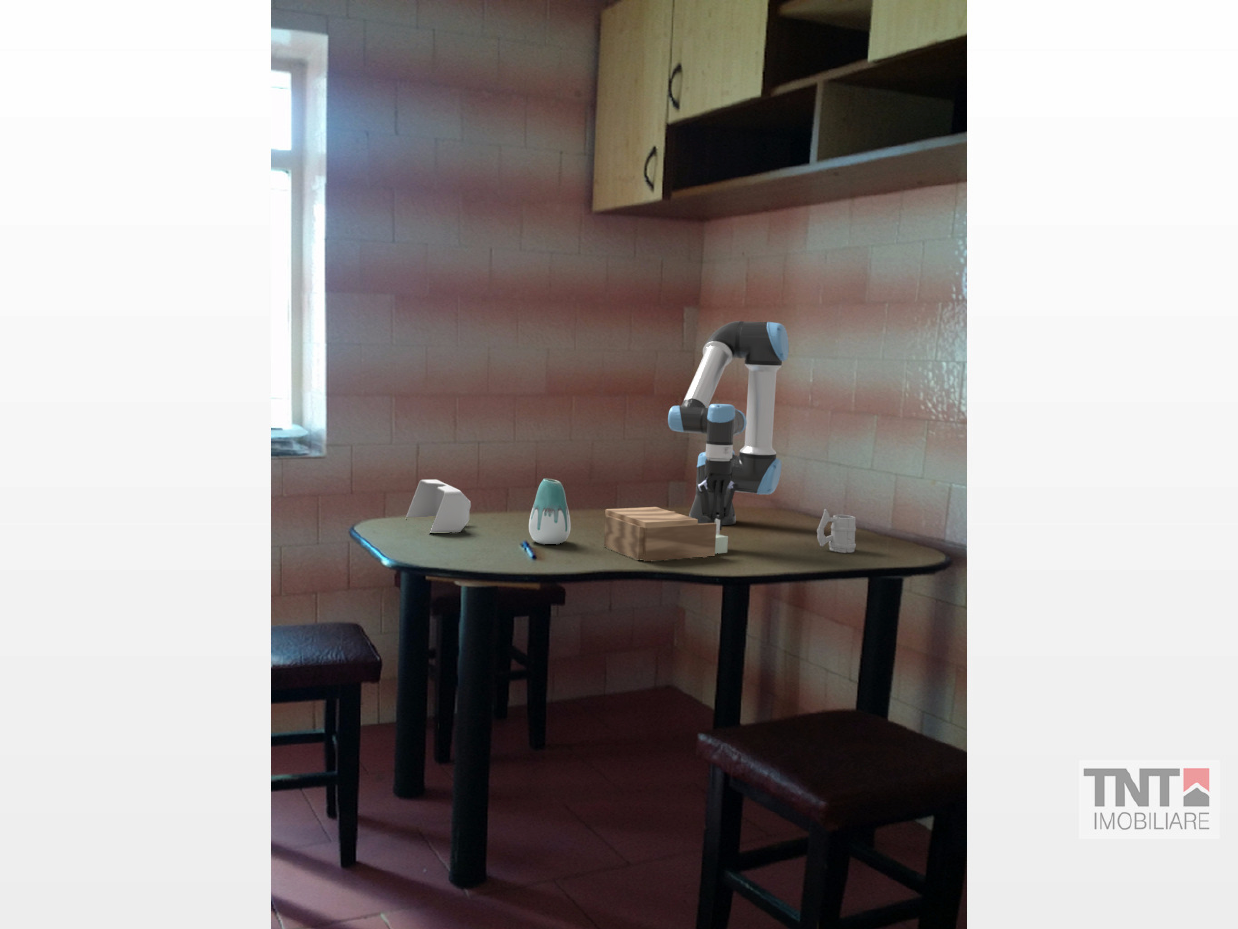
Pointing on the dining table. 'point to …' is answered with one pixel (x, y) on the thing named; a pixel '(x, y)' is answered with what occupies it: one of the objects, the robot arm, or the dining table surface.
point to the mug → (838, 532)
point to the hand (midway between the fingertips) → (714, 541)
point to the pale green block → (721, 544)
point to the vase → (550, 514)
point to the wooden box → (657, 534)
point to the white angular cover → (440, 506)
